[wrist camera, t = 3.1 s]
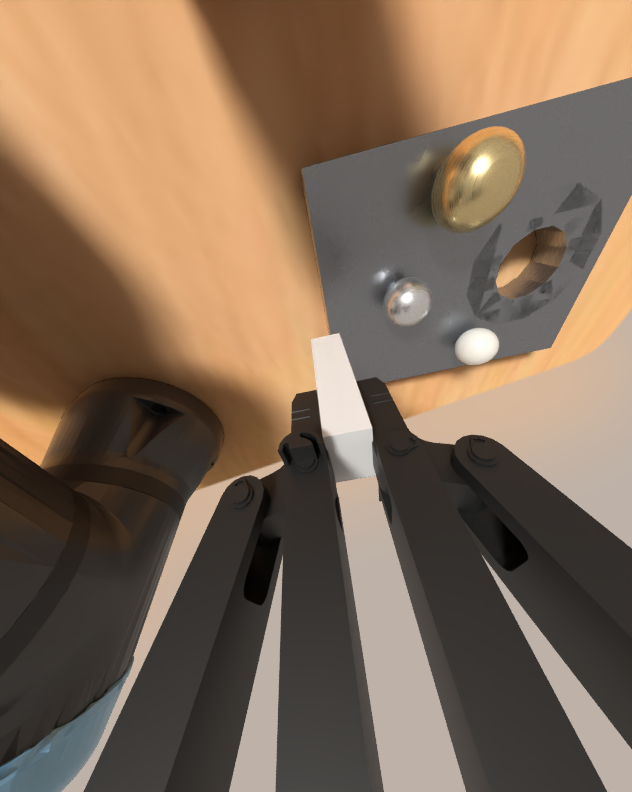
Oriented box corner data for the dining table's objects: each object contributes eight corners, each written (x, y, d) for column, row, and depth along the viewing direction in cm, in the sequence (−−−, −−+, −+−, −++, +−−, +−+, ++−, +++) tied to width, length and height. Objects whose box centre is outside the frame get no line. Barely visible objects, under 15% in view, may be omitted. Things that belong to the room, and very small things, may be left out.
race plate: (336, 376, 24) (340, 391, 23) (300, 173, 14) (302, 168, 12) (529, 336, 23) (550, 347, 21) (643, 79, 13) (704, 57, 11)
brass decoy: (415, 237, 15) (448, 245, 12) (422, 148, 12) (465, 129, 9) (478, 221, 15) (529, 225, 11) (499, 127, 12) (570, 100, 9)
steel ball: (377, 321, 18) (391, 339, 16) (376, 278, 16) (392, 291, 14) (418, 312, 18) (438, 328, 16) (422, 267, 16) (445, 278, 14)
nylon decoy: (444, 356, 21) (463, 375, 19) (450, 326, 19) (472, 342, 17) (478, 349, 21) (501, 367, 18) (487, 318, 19) (514, 333, 17)
